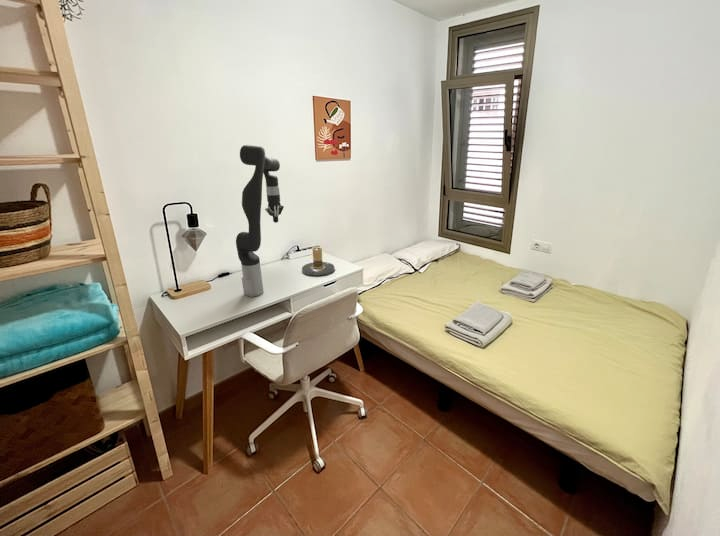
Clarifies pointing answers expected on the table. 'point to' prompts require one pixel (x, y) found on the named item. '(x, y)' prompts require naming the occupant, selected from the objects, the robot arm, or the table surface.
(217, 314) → the table surface
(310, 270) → the platter
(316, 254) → the brown jar
